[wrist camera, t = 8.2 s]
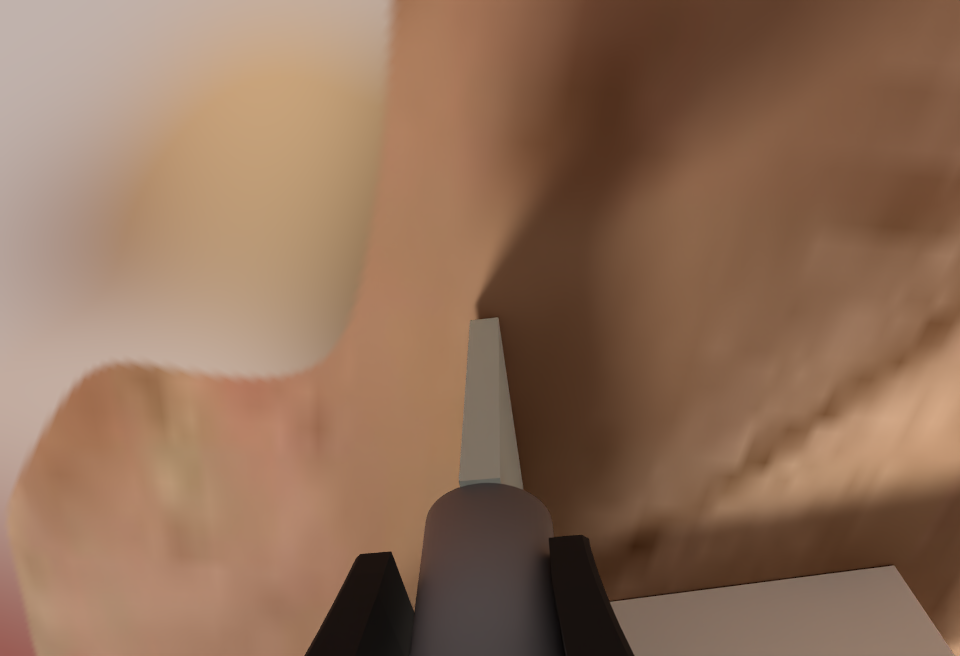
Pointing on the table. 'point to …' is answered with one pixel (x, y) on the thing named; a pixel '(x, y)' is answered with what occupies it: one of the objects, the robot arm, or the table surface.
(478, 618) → the flap
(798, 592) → the carton
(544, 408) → the table surface
